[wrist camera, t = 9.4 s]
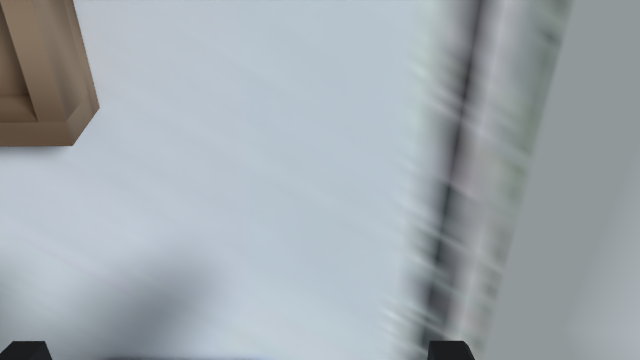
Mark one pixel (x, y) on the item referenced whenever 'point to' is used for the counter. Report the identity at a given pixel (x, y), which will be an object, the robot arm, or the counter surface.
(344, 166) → the counter surface
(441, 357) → the robot arm
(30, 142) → the tray
